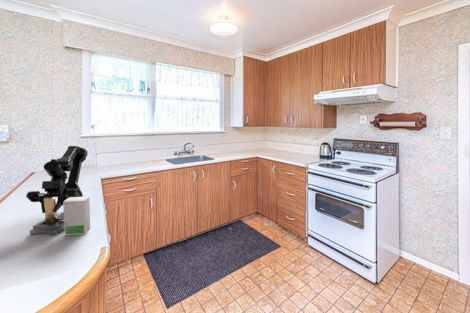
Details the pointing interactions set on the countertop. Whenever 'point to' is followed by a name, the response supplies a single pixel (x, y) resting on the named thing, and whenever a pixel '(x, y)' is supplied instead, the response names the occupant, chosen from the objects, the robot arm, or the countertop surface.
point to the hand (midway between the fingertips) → (49, 212)
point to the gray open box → (47, 228)
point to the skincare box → (76, 215)
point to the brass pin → (50, 210)
